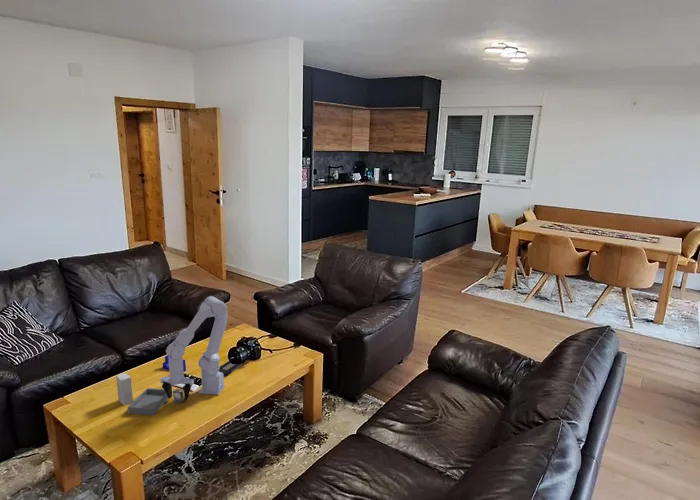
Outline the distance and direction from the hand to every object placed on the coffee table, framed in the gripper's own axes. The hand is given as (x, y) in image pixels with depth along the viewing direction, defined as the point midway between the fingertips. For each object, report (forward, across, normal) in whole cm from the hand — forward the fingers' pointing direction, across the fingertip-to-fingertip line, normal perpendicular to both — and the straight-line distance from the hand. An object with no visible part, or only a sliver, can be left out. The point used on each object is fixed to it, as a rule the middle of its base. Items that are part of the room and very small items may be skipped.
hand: (178, 398), depth 198 cm
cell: (+2, 0, 0) cm, 2 cm away
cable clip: (+2, -16, +27) cm, 31 cm away
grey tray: (+2, -11, -4) cm, 12 cm away
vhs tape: (+2, +11, +31) cm, 33 cm away
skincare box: (+2, -23, -3) cm, 23 cm away
